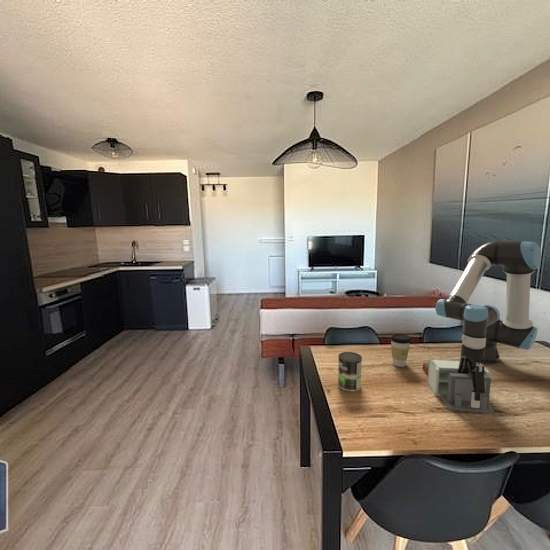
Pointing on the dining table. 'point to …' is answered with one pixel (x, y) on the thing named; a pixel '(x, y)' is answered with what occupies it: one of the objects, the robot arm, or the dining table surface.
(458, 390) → the grey rectangular panel
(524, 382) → the dining table surface
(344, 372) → the coffee can
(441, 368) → the cabinet
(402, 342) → the coffee cup
